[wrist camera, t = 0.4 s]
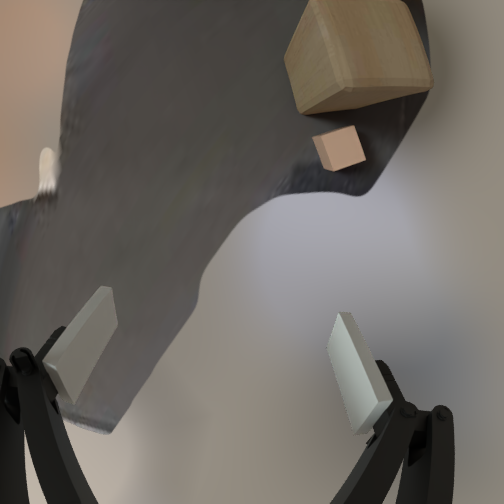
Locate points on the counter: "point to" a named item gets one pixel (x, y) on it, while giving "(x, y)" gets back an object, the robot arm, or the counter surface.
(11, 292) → the counter surface
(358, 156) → the cube tan
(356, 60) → the wooden block
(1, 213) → the counter surface
